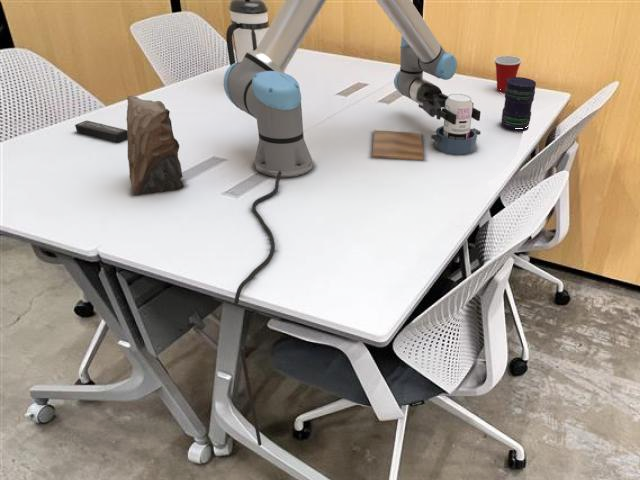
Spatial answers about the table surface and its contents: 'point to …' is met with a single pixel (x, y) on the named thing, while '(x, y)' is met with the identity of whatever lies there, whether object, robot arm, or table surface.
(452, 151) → the pot
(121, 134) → the multiport hub
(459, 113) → the supplement can
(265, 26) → the coffee press
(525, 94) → the storage jar
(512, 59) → the plastic cup
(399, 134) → the wooden board
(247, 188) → the table surface
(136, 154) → the brown rock
